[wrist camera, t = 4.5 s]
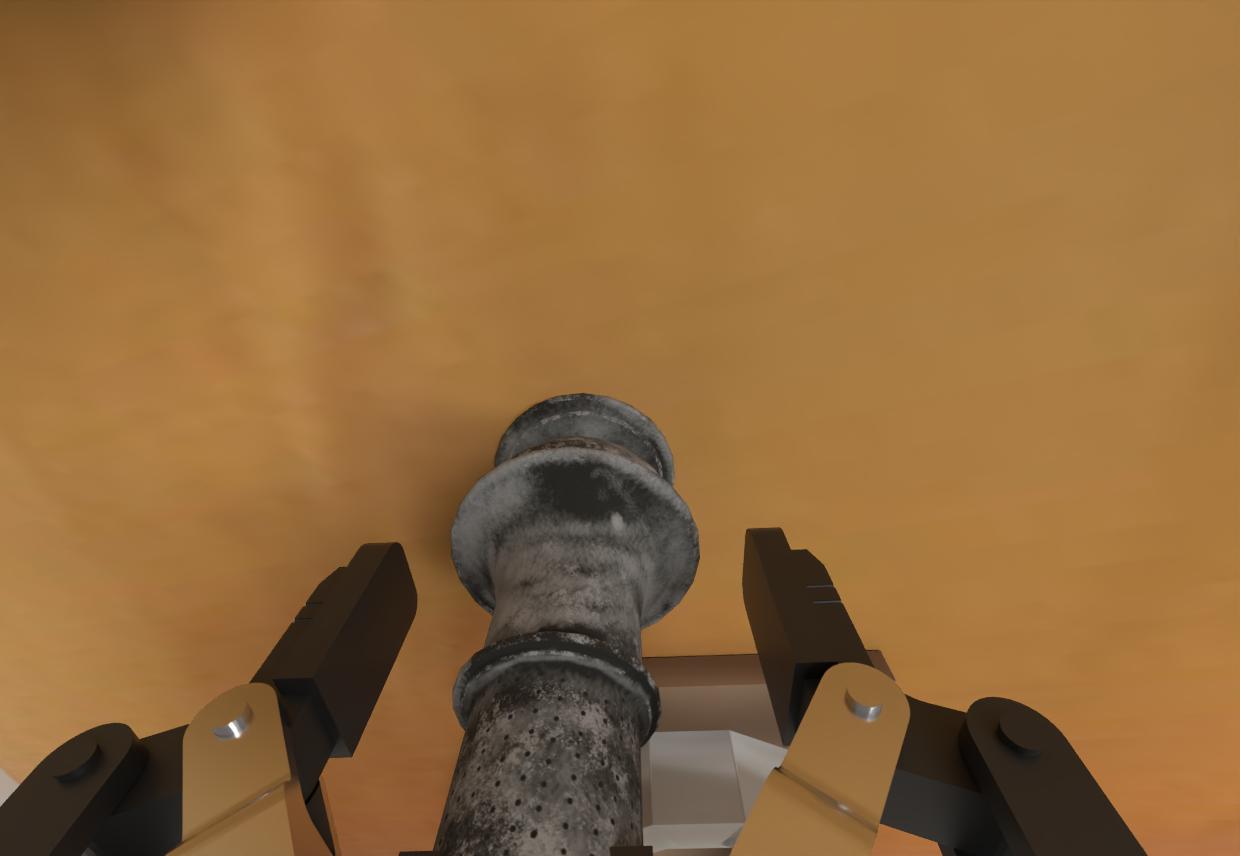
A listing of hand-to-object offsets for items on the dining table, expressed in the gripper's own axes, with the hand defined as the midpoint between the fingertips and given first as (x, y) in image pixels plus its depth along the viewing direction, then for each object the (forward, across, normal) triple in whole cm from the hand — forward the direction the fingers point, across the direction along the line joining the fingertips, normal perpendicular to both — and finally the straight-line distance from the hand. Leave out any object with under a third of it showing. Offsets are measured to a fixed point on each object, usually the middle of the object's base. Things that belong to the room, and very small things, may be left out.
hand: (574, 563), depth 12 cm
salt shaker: (+4, 0, 0) cm, 4 cm away
